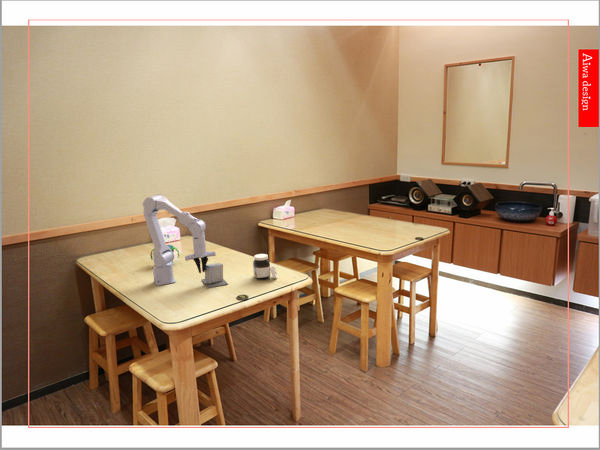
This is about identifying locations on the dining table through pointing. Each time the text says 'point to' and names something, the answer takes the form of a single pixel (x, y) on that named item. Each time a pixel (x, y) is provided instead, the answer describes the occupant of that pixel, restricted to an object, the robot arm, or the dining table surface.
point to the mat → (215, 284)
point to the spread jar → (263, 267)
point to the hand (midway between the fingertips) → (201, 272)
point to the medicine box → (214, 272)
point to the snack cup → (171, 250)
